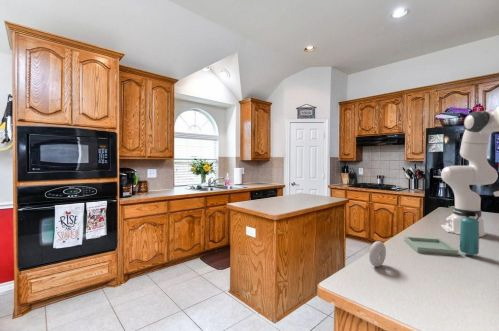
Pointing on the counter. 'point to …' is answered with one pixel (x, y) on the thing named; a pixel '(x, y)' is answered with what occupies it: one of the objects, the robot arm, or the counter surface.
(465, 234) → the beverage bottle
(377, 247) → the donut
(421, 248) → the tray
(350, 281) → the counter surface
